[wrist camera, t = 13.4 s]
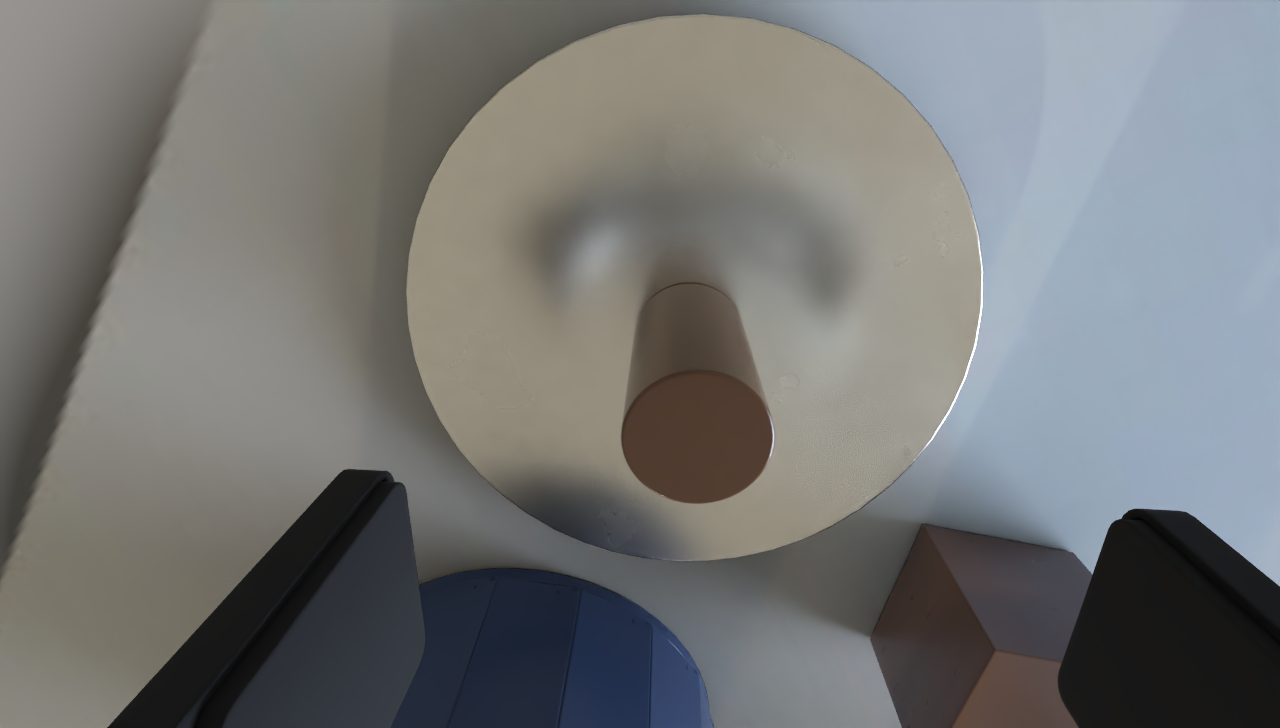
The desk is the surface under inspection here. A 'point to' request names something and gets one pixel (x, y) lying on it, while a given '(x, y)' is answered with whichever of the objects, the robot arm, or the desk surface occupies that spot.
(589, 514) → the lid
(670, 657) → the blue bowl
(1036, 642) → the block
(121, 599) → the desk surface
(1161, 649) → the robot arm
